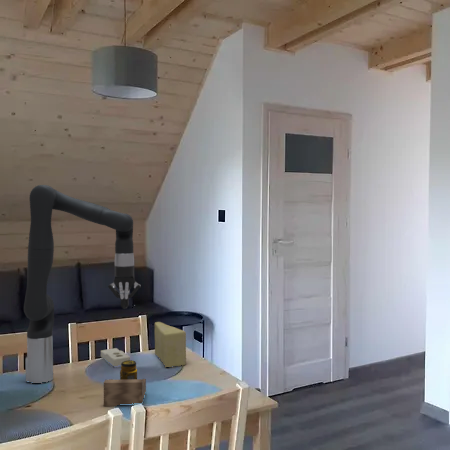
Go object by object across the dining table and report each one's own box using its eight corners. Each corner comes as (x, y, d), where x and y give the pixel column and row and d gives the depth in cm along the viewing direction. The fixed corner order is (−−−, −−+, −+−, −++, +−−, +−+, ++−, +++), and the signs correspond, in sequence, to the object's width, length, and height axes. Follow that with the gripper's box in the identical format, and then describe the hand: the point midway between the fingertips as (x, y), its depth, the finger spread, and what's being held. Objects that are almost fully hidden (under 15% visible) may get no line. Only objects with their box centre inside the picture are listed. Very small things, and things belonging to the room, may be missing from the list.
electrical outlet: (116, 346, 231) (130, 356, 215) (116, 354, 231) (130, 366, 216) (100, 348, 227) (113, 359, 212) (100, 357, 227) (113, 368, 212)
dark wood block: (103, 406, 172) (103, 382, 172) (109, 394, 183) (109, 372, 182) (142, 405, 173) (142, 382, 172) (145, 394, 183) (145, 372, 183)
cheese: (146, 355, 230) (145, 322, 229) (166, 352, 235) (165, 319, 234) (165, 369, 211) (165, 333, 210) (186, 365, 215) (186, 330, 215)
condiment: (139, 391, 186) (139, 359, 185) (137, 400, 177) (137, 366, 177) (119, 392, 185) (118, 359, 185) (116, 401, 177) (115, 367, 176)
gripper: (105, 265, 197) (106, 310, 197) (140, 265, 197) (140, 310, 198) (109, 263, 204) (109, 306, 205) (142, 263, 204) (142, 306, 205)
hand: (124, 308), depth 201 cm, fingers closed
